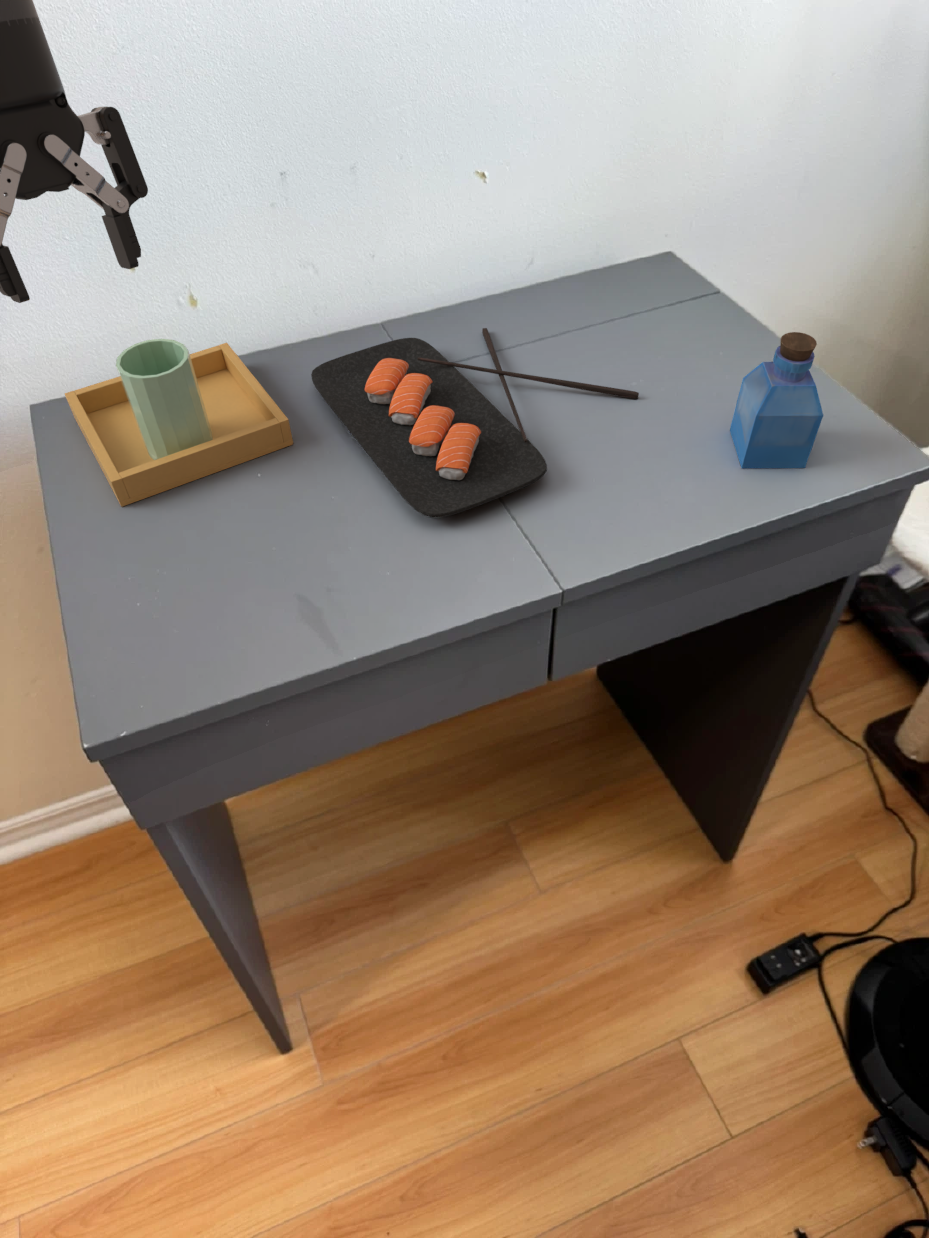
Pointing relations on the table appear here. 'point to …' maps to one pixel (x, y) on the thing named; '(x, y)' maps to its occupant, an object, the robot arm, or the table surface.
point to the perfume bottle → (778, 408)
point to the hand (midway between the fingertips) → (77, 283)
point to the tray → (239, 435)
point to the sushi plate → (434, 424)
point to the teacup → (164, 396)
